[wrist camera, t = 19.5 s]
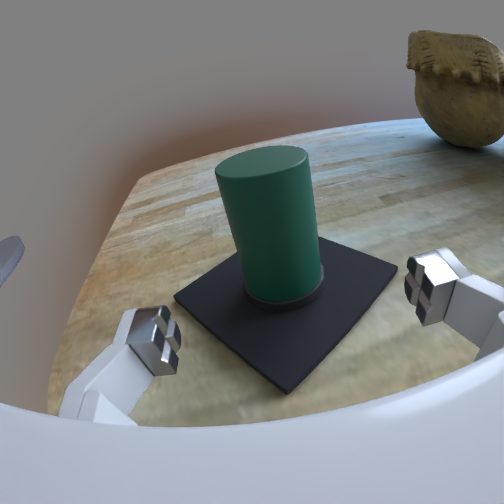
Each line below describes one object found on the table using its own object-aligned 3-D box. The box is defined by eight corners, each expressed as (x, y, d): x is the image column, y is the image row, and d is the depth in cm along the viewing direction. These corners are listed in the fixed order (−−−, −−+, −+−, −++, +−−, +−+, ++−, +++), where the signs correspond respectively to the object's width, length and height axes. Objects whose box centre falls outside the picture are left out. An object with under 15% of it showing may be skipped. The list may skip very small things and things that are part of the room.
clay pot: (440, 125, 50) (432, 40, 39) (524, 151, 34) (523, 52, 23) (389, 141, 44) (375, 30, 33) (500, 177, 28) (498, 33, 17)
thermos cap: (286, 325, 17) (258, 186, 12) (230, 289, 21) (192, 172, 16) (340, 275, 20) (331, 148, 15) (283, 250, 24) (262, 141, 19)
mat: (287, 395, 14) (286, 390, 14) (175, 299, 22) (172, 295, 22) (397, 271, 20) (398, 265, 19) (281, 227, 28) (280, 222, 28)
